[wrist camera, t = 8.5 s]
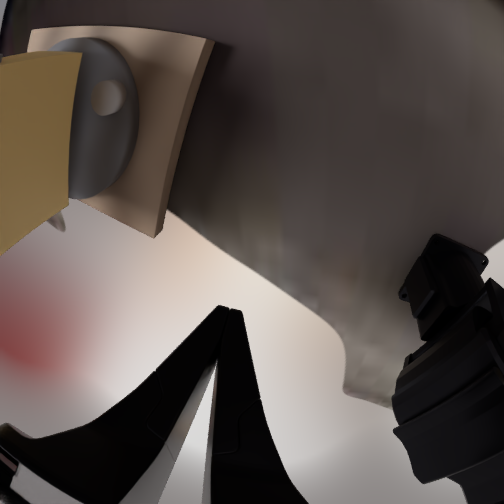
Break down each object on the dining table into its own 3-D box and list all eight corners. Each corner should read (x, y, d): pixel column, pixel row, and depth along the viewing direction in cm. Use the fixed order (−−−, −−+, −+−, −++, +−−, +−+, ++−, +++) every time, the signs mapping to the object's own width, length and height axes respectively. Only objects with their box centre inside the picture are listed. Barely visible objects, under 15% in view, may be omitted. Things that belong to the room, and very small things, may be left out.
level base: (215, 41, 14) (187, 33, 11) (162, 229, 24) (138, 255, 20) (42, 28, 14) (12, 32, 11) (29, 163, 23) (4, 177, 20)
